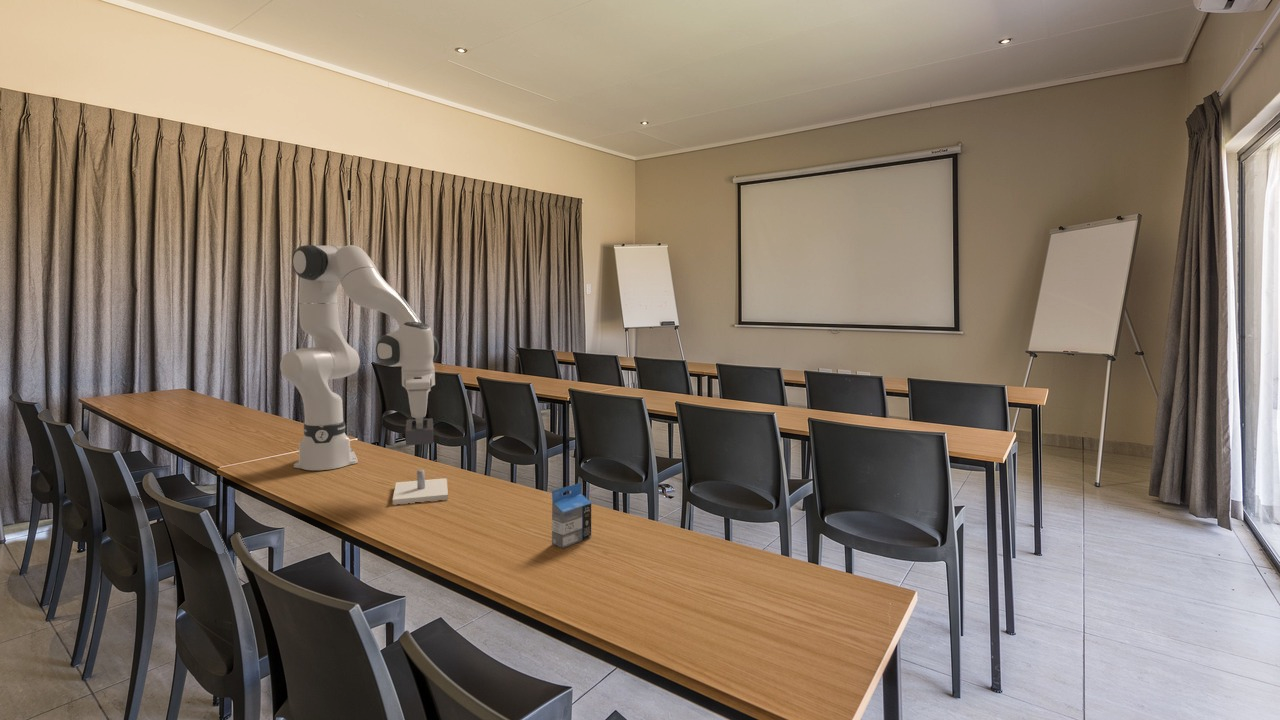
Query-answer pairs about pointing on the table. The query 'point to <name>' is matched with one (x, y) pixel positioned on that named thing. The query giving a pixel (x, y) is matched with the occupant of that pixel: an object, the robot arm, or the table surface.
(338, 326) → the robot arm
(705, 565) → the table surface
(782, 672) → the table surface
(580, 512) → the label tape cartridge
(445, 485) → the keeper plate
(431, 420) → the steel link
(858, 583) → the table surface
